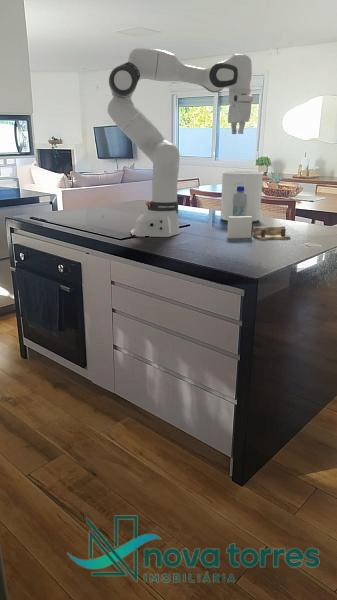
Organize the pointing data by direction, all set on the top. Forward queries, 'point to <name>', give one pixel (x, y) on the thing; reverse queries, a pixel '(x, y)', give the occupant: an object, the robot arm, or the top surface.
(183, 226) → the top surface
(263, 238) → the tan pegged board
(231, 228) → the white rectangular block
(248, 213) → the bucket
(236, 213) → the bottle
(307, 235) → the top surface
